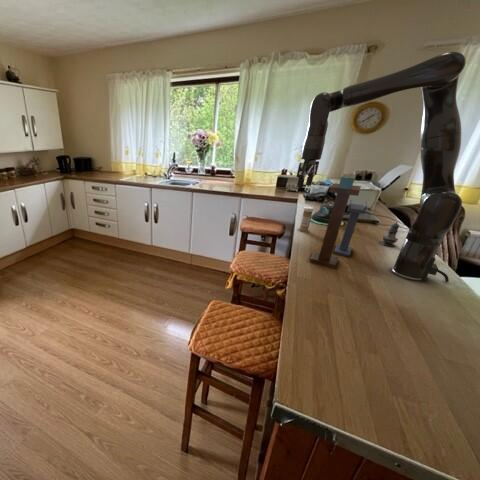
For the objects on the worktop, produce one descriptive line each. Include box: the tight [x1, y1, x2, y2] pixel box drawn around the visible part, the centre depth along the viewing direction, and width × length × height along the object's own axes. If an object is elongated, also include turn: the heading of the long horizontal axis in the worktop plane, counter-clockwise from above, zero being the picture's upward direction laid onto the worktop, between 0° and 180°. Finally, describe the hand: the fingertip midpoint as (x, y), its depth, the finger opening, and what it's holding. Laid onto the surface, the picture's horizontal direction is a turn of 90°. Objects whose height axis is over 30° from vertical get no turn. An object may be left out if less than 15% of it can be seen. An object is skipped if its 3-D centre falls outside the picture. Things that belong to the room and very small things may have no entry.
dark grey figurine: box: [380, 221, 400, 248], centre depth 124 cm, size 6×6×12 cm
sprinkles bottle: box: [298, 206, 314, 233], centre depth 141 cm, size 5×5×14 cm
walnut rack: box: [309, 183, 361, 269], centre depth 103 cm, size 9×10×32 cm
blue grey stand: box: [333, 199, 368, 258], centre depth 114 cm, size 6×10×23 cm, turn 142°
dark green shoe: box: [310, 204, 344, 226], centre depth 160 cm, size 15×19×20 cm
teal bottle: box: [338, 173, 357, 189], centre depth 99 cm, size 4×19×4 cm, turn 142°
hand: (304, 186), depth 113 cm, fingers open, 8 cm apart
